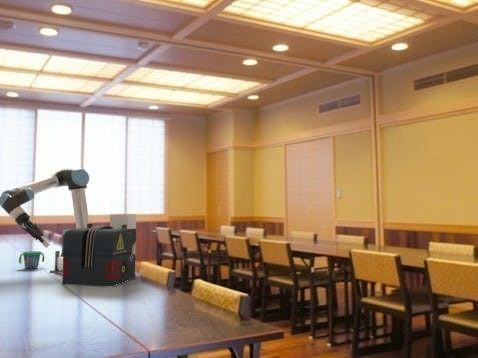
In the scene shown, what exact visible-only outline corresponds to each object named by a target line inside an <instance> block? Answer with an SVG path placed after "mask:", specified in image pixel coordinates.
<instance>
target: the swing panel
mask: <svg viewBox="0 0 478 358" xmlns="http://www.w3.org/2000/svg"><path fill="white" fill-rule="evenodd" d="M57 269H59V270H63V257H58V267H57Z"/></svg>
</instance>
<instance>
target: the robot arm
mask: <svg viewBox="0 0 478 358" xmlns="http://www.w3.org/2000/svg"><path fill="white" fill-rule="evenodd" d="M89 181H90V175H89V173H88V171H87V170H86V169H84V168H81V167H80V168H79V167H73V168H63V169H61V170H58V171H56V172H53V173H51V174H49V175H48V176H47V177H44V178H40V179H39V180H35V181H32V182H29V183H27V184H24V185H21V186H19V187H16V188H13V189H12V188H11V189H7V190H4V191H2V192H1V195H0V207H1V208H2V209H3V210H4V211H5V212H6V213H7V214H8V216H10V218H11V219H12V220H13V221H14V222H15V223H16V224H17V225H18V226H21V227H20V228H21V229H22V230H24V231H25V232H26V233H27V234H29V235H30V236H31V237H32V238H33V239H35V241H37V240H38V242H39V243H40V244H41V245H42V246H43V247H44V248H48V247H49V246H50V245H51V244H50V242H49V241H48V240H47V239H46V238H45V237H44V233H43V232H42V230H40V229H41V228H40V227H39V226H38V225H37V223H36V222H32V221H31V220H30V218H31V216H30V215H29V214H28V213H27V212H26V211H25V210H24V208H23V207H22V206H23V205H24V204H27V203H28V202H30V201H33V199H34V198H35V195H37V194H39V193H41V192H44V191H47V190H49V189H52V188H54V189H56V188H60V187H67V189H68V191H69V192H71V200H72V206H73V207H72V208H73V215H74V221H75V228H74V229H78V228H87V224H90V219H89V211H88V204H87V197H86V189H87V188H88V187H87V186H88V184H89ZM67 230H69V229H64V230H62V234H61V241H62V242H61V254H60V257H63V249H64V235H65V233H66V232H67Z"/></svg>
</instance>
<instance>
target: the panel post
mask: <svg viewBox="0 0 478 358" xmlns="http://www.w3.org/2000/svg"><path fill="white" fill-rule="evenodd" d="M54 252H55V253H54V257H55V258H54V259H55V260H54V269H50V270H49V273H50V274H60V273H63V270H60V269H57V267H58V257H60V256H61V254H60V250H55V251H54Z"/></svg>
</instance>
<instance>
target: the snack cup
mask: <svg viewBox="0 0 478 358" xmlns="http://www.w3.org/2000/svg"><path fill="white" fill-rule="evenodd" d="M19 255H20V256H19V258H18V262H19V264H22V257H23V262H24V263H23V264H24V268H25V269H27V270H28V269H30V270H31V269H37V268H39V264H40V259H41V258H42V259H41V262H45V254H44V252H42V251H39V250H33V251H32V250H29V251H26V250H25V251H22V253H20V254H19ZM41 255H42V257H41Z"/></svg>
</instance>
